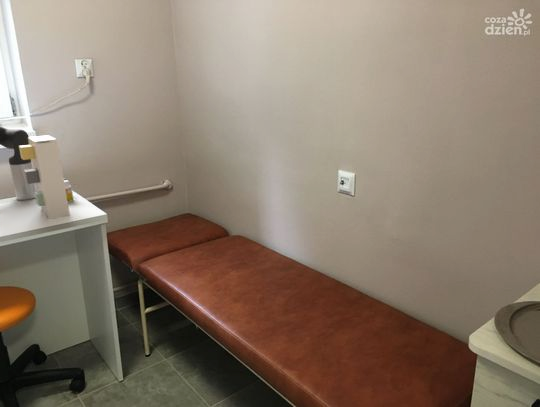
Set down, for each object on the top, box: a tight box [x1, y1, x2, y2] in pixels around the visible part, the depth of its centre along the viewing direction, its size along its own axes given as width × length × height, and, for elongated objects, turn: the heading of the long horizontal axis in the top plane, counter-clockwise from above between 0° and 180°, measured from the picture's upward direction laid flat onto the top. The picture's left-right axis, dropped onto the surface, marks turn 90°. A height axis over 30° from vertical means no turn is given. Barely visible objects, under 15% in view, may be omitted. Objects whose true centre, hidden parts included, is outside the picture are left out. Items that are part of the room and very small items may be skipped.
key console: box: [28, 135, 71, 220], centre depth 185 cm, size 18×8×32 cm, turn 36°
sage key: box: [35, 190, 45, 207], centre depth 186 cm, size 6×6×5 cm
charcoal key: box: [24, 167, 40, 184], centre depth 182 cm, size 6×6×5 cm
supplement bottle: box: [64, 179, 74, 203], centre depth 204 cm, size 5×5×10 cm
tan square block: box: [19, 145, 36, 160], centre depth 179 cm, size 6×6×5 cm
